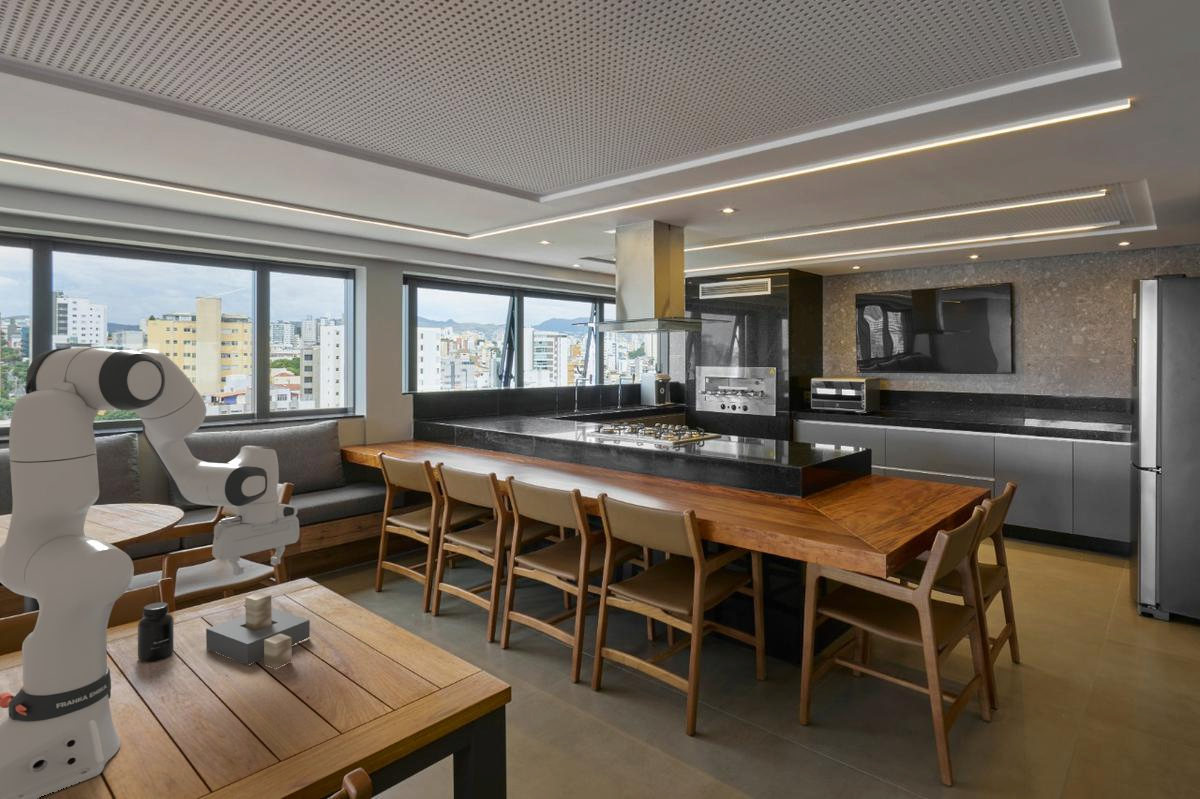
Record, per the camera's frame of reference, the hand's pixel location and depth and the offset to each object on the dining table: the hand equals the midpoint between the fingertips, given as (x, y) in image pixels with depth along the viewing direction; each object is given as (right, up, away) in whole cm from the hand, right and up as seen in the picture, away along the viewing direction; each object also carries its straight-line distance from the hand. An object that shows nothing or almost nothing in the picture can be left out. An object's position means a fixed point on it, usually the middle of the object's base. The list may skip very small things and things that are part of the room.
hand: (257, 569), depth 154 cm
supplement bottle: (-20, -19, -6) cm, 28 cm away
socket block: (0, -19, +1) cm, 19 cm away
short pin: (+9, -20, -8) cm, 23 cm away
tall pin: (0, -19, +1) cm, 19 cm away
